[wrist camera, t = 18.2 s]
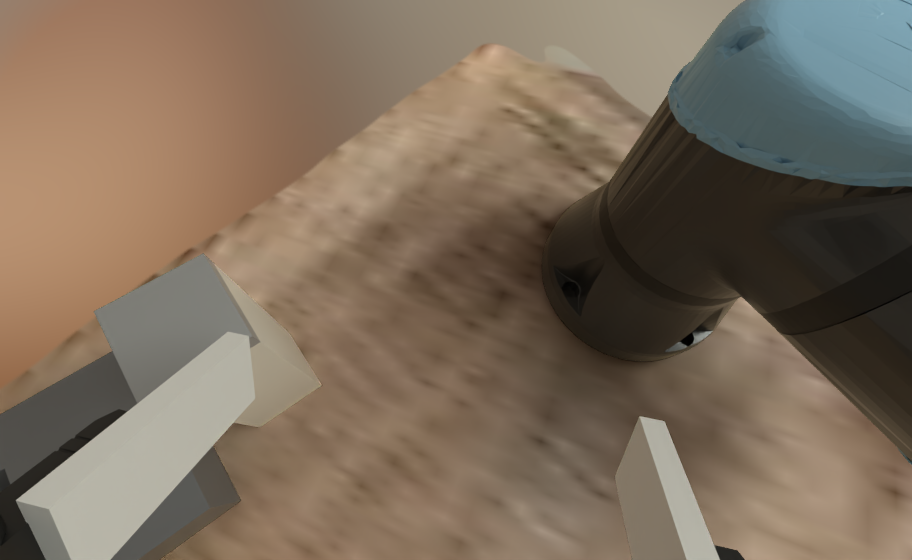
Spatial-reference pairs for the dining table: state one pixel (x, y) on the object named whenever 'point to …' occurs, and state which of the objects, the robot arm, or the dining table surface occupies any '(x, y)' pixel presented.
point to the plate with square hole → (74, 408)
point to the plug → (203, 336)
